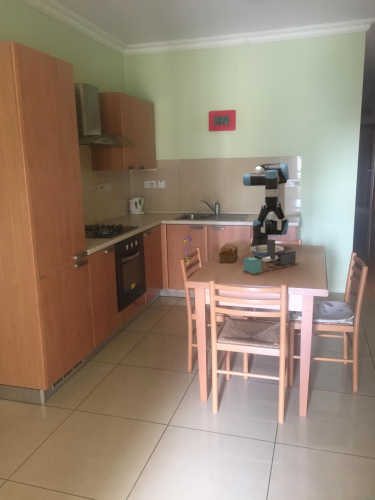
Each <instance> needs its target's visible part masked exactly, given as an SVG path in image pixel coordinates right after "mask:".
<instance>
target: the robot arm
mask: <svg viewBox="0 0 375 500" xmlns="http://www.w3.org/2000/svg"><path fill="white" fill-rule="evenodd" d="M288 180H290V172H289V166H288V164H287V163H285V162H284V163H283V162H276V163H264V164H263V163H262V164H260V165H258V166H256V167H254V168H253V169H252V171H251V172H250V173H245V174H243V176H242V183H243V186H244V187H245V186H246V187H253V186H254V187H256V186H259V187H260V186H261V187H263V186H264V187H265V188H264V196H265V197H264V203H265V204H261V206H260V212H259V214H258V217H257V218H255V219H253V221H252V240H251V243H250V248H251V247H253V246H256V245H257V246H258V243H259V245H267V240H269V239H270V238H269V236H286V235H287V234H288V229H289V222H290V220H289V219H288V217H287V215H285V214H286V204H285V203H286V199H285V198H286V197H285V194H286V193H285V192H286V191H285V190H286V184H287V183H288ZM270 213H272V215H271V218H270V219H269V218H268V217H267V216H268V215H269V214H270Z"/></svg>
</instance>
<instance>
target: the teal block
mask: <svg viewBox="0 0 375 500" xmlns="http://www.w3.org/2000/svg"><path fill="white" fill-rule="evenodd" d="M261 266H262V262H261V258H258V257H252V256H249V257H244V258H243V270H244V271H248V272H251V273H257V272H261Z"/></svg>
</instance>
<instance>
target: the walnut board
mask: <svg viewBox="0 0 375 500" xmlns="http://www.w3.org/2000/svg"><path fill="white" fill-rule="evenodd" d="M297 265H299V263H298V262H296V261H295V263H292V264H288V265H284V266H278V265H275V264H274V263H270V264H267V265H261V272H257V273H251V272H248V271H244V269H243V271H242V272H243V273H245V274H249V275H251V276H254V275H255V276H256V275H260V274H264V273H268V272H272V271H276V270H281V269H285V268H289V267H294V266H297Z"/></svg>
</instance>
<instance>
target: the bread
mask: <svg viewBox="0 0 375 500" xmlns="http://www.w3.org/2000/svg"><path fill="white" fill-rule="evenodd" d="M218 255H219V256H218V258H219V262H220V263H222V264H224V263H226V264H227V263H230V264H233V263H235V261H236V259H237V258H238V246H237V245H236V244H234V245H233V244H226V245H224V246H222V247H221V248H220V250H219V253H218Z"/></svg>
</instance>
